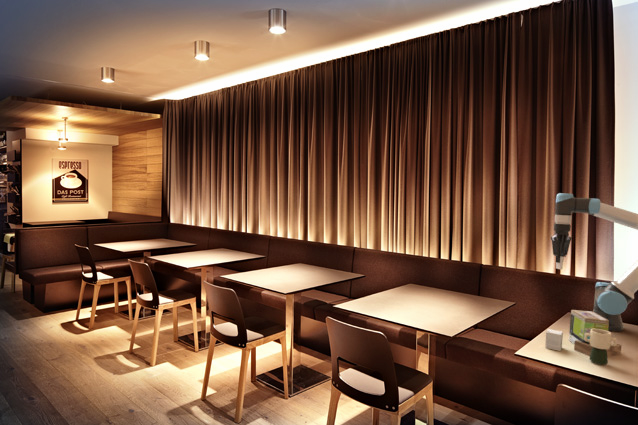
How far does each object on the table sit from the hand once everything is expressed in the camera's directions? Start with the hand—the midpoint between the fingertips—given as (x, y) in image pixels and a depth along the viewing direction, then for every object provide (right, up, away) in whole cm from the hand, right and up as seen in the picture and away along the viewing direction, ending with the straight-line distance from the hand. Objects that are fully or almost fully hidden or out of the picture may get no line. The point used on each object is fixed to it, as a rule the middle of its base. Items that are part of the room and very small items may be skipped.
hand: (559, 268), depth 227 cm
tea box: (-4, -31, -30) cm, 44 cm away
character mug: (-11, -32, -49) cm, 60 cm away
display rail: (-3, -31, -36) cm, 48 cm away
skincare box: (-21, -31, -34) cm, 50 cm away
